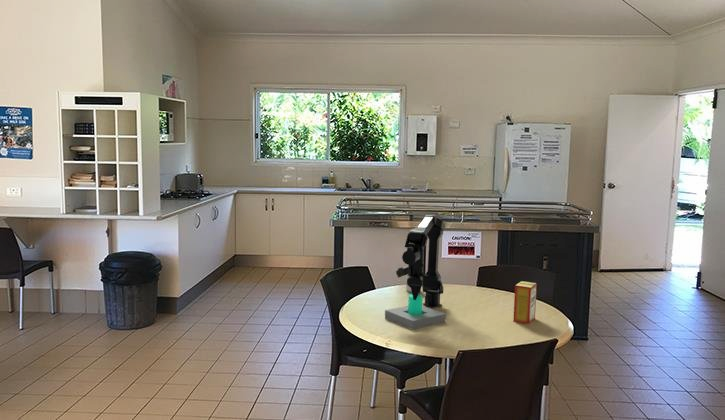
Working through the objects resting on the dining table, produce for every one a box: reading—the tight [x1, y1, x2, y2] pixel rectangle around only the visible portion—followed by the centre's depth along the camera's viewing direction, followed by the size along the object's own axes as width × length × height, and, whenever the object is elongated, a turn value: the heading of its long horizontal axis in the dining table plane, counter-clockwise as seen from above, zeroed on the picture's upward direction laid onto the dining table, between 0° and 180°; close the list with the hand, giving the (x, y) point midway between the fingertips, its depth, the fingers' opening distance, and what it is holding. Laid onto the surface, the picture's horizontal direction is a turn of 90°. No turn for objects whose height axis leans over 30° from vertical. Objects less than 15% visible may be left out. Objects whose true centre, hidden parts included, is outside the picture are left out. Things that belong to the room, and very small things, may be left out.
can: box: [405, 274, 422, 293], centre depth 296 cm, size 8×8×12 cm
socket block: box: [384, 305, 447, 330], centre depth 247 cm, size 18×18×4 cm
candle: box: [407, 293, 424, 316], centre depth 247 cm, size 6×6×12 cm
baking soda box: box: [513, 280, 538, 325], centre depth 250 cm, size 10×6×16 cm
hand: (415, 297), depth 246 cm, fingers open, 9 cm apart
